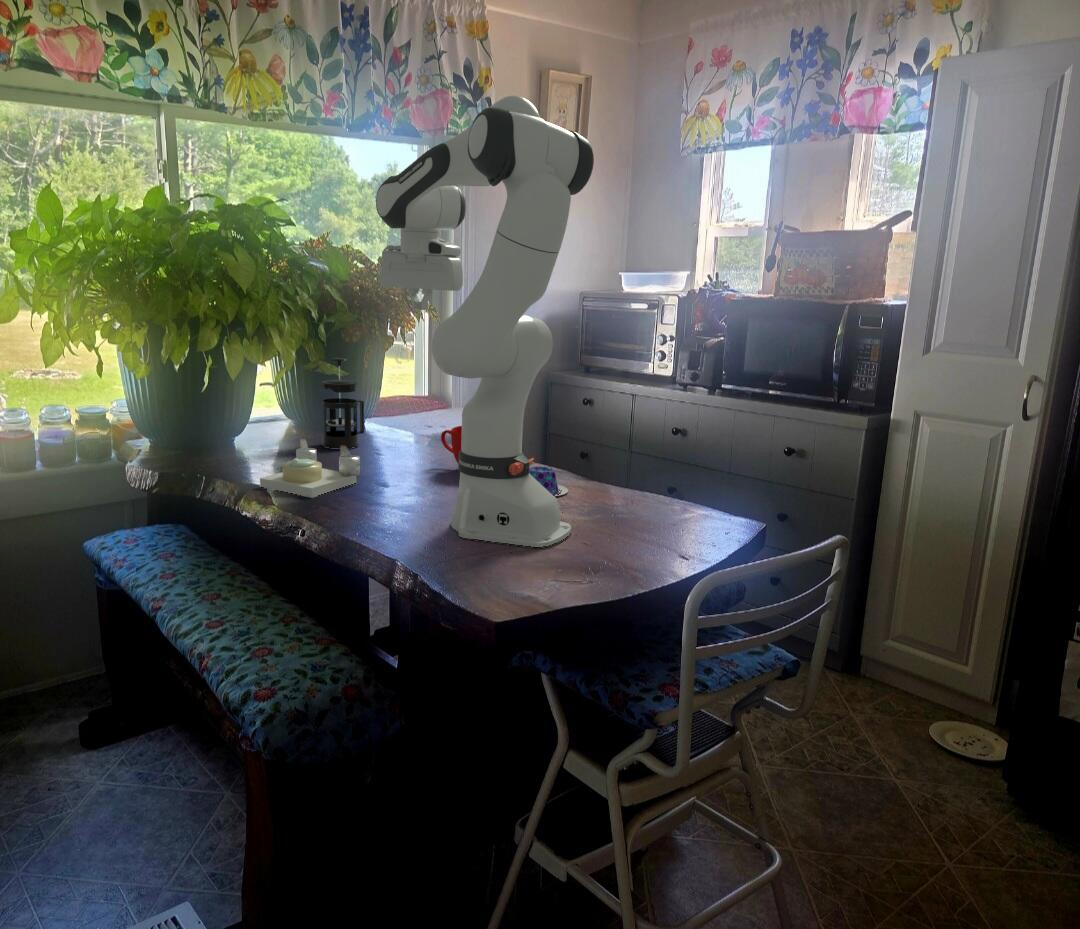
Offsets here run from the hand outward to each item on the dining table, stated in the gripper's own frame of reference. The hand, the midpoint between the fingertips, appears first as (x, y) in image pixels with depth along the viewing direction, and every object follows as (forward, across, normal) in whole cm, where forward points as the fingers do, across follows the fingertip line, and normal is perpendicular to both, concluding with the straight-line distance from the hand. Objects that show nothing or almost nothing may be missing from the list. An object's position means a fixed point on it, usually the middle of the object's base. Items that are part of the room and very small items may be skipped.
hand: (420, 309), depth 182 cm
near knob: (+35, -9, -15) cm, 39 cm away
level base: (+37, -11, -25) cm, 46 cm away
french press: (+37, -31, +10) cm, 50 cm away
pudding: (+38, +32, 0) cm, 49 cm away
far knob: (+35, -21, -15) cm, 43 cm away
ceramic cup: (+37, +10, +7) cm, 39 cm away
